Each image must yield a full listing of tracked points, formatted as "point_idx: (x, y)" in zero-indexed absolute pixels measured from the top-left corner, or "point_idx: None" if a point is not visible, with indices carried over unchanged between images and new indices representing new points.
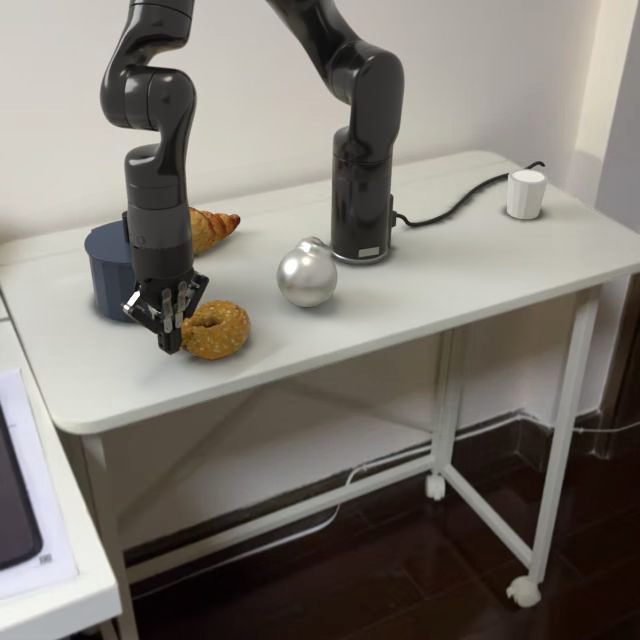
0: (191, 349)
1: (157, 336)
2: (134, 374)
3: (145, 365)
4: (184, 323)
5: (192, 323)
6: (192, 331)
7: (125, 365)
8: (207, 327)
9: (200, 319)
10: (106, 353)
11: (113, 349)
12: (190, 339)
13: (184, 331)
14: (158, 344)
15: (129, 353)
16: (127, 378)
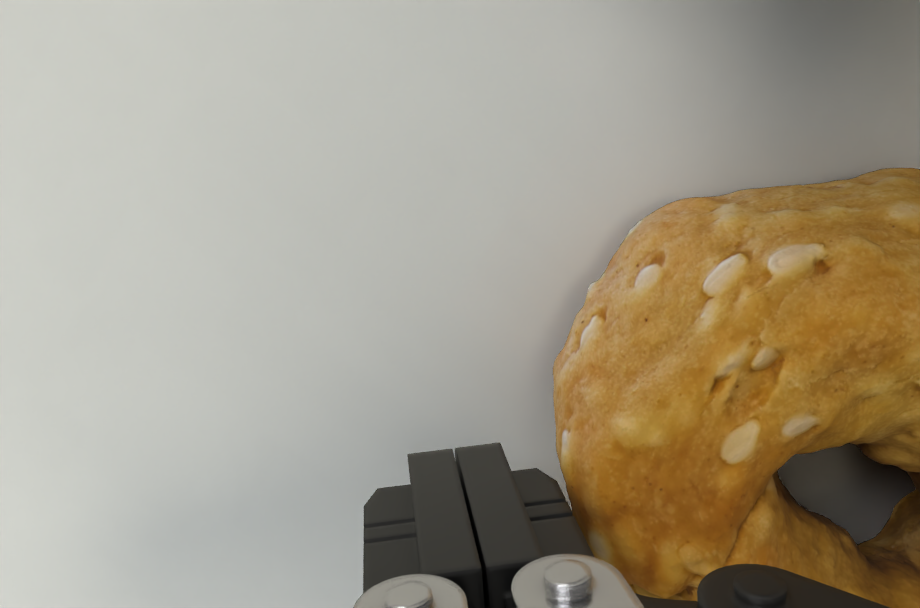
0: None
1: (365, 560)
2: (137, 437)
3: (263, 390)
4: (735, 417)
5: (788, 457)
6: (696, 588)
7: (134, 295)
8: (868, 454)
9: (888, 424)
10: (76, 35)
11: (156, 21)
12: (633, 584)
13: (647, 539)
14: (365, 518)
15: (241, 168)
16: (69, 449)
